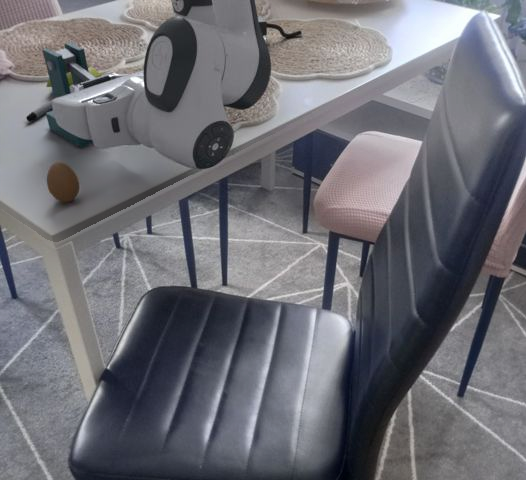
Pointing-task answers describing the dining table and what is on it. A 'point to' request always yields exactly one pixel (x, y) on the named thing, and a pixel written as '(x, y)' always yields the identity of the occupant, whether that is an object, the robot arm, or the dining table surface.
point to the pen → (40, 111)
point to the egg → (62, 182)
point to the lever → (80, 70)
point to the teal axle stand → (64, 86)
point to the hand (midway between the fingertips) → (91, 83)
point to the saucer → (69, 77)
